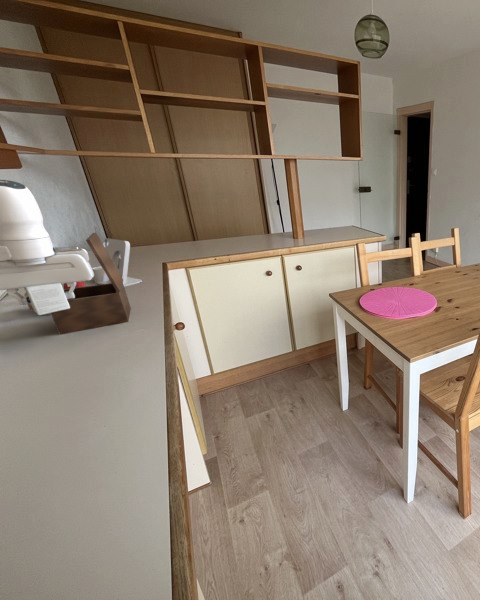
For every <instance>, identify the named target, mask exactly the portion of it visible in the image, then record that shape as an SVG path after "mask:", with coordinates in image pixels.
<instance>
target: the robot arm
mask: <svg viewBox="0 0 480 600" xmlns="http://www.w3.org/2000/svg"><path fill="white" fill-rule="evenodd" d="M92 268H93V267H92V266H91V263H90V255H89V252H88V250H86V249H85V248H82V247H79V246H75V245H74V246H61V247H60V246H59V247H55V246H54V244H53V241H52V239H51V236H50V234H49V232H48V231H47V229H46V228H45V226H44V216H43V214H42V211H41V209H40V206H39V204H38V202H37V200H36V198H35V196H34V194H33V193H32V191H31V190H30V189H29V188H28V186H26V185H25V184H23V183H20V182H17V181H14V180H7V179H0V291H6V293H7V294H8V295H9V296H11V297H12V298H14V299H15V300H17V302H18V304H19V305H20V306H25V305H27V304H29V303H30V300H29V298H28V296H25V295H22V294H21V293H20V292H18V291H19V290H20V289H25V287H29V286H38V285H48V284H57V283H61V285H62V284H64V283H67V286H68V287H70V286H71V288H70V290H69V291H66V292H65V296H66V298H67V299H72V298H75V295H74V292H73V291H74V289H75V286H76V282H81V281H82V282H89V281H92V279H93V278H94V272H93V270H92Z"/></svg>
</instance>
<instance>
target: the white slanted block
mask: <svg viewBox="0 0 480 600" xmlns="http://www.w3.org/2000/svg"><path fill="white" fill-rule="evenodd" d="M63 289H64V287H63V285H62V284H61V283H57V284H48V285H38V286H29V287H25V288H24V291H25V293H27V296H28V298H29V300H30V303H31V305H32V307H33V309H34V311H33V312H34V313H35V314H36V315H38V316H44V315H43V314H47V313H51V312H56V311H60V310H65V309H70V306H69V303H68V301H67V298H66V296H65V293H64V290H63Z"/></svg>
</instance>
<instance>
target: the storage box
mask: <svg viewBox="0 0 480 600" xmlns="http://www.w3.org/2000/svg"><path fill="white" fill-rule="evenodd" d="M63 290H64V293H65V292H66V291H69V290H70V289H64V288H63ZM73 292H74V295H75V298H72V299H67V301H68V303H69V306H70V309H65V310H60V311H56V312H51V314H50V315H51V318H52V321H53V322H54V325H55V327H56V330H57V331H58V334H59V335H66V334H70V333H76V332H81V331H82V332H83V331H87V330H93V329H96V328H102V327H107V326H114V325H119V324H123V323H129V322H130V321H129V320H130V316H131V315H130V314H131V310H132V307H131V304H130V301H129V298H128V294H127V292H126V288H125V287H124V285H123V283H122V286H121V290H120V292H117V291H116V290H115V288H114V286H113V285H112V283H109V284H101V285H100V284H93V285H86V286H85V287H77V288H75V289H74V291H73Z"/></svg>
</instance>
